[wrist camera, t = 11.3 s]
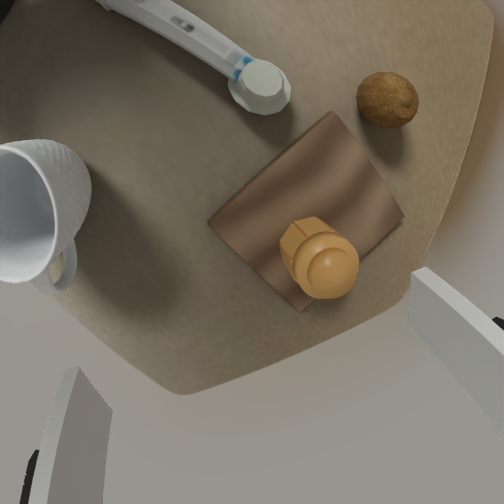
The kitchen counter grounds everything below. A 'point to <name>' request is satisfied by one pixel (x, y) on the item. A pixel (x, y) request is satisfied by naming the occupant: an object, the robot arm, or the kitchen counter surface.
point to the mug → (40, 211)
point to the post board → (308, 202)
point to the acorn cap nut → (319, 258)
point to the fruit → (387, 99)
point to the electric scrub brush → (212, 52)
